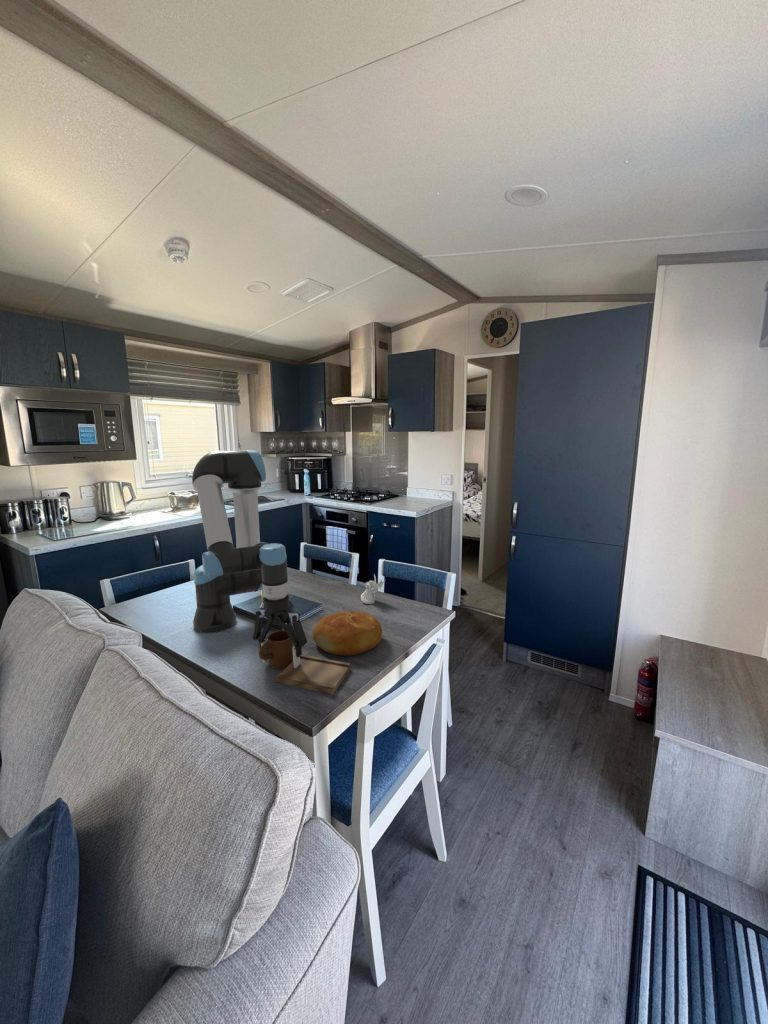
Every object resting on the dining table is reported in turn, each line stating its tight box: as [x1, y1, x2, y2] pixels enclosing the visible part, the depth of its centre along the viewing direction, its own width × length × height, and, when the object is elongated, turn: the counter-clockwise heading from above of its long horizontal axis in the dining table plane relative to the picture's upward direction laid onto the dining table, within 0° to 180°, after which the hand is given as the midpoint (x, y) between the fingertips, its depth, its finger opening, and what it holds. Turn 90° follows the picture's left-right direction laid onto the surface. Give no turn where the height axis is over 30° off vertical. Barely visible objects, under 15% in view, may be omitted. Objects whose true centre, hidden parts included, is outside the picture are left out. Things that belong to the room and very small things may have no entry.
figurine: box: [360, 573, 386, 605], centre depth 181 cm, size 11×8×12 cm
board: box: [275, 654, 351, 695], centre depth 128 cm, size 18×13×2 cm
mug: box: [258, 630, 294, 670], centre depth 132 cm, size 12×8×9 cm, turn 146°
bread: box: [312, 610, 383, 656], centre depth 148 cm, size 23×23×10 cm
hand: (281, 663), depth 132 cm, fingers open, 10 cm apart
